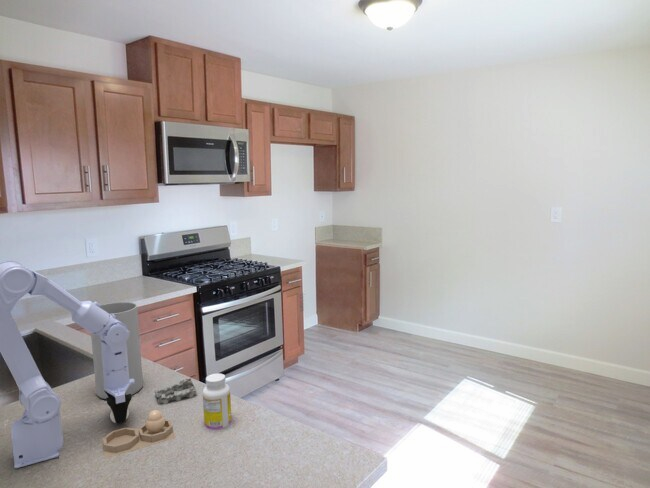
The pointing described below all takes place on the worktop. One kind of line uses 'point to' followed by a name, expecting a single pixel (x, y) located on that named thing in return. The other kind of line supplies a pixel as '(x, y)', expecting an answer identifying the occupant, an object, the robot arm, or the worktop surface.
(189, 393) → the egg carton
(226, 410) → the supplement bottle
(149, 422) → the brown egg
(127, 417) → the cream egg
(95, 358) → the cylinder vase
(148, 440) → the egg tray
